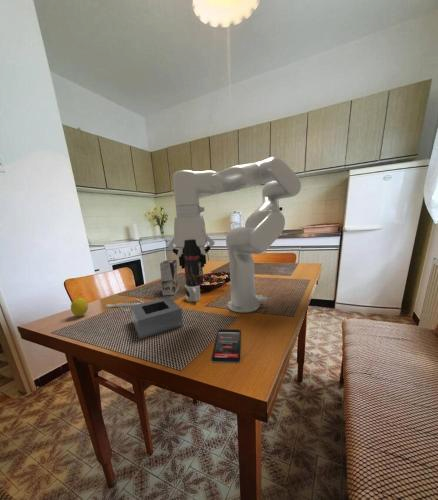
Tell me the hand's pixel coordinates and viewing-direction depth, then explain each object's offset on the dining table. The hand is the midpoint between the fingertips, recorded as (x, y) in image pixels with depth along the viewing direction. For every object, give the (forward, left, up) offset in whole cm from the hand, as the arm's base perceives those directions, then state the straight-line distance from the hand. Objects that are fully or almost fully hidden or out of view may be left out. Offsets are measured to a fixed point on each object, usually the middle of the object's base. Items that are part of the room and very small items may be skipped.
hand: (193, 266), depth 67 cm
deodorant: (0, 0, -6) cm, 6 cm away
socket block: (+14, -2, -20) cm, 25 cm away
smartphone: (-10, +13, -21) cm, 26 cm away
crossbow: (+33, -20, -21) cm, 44 cm away
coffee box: (+16, -35, -20) cm, 43 cm away
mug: (+3, -22, -20) cm, 30 cm away
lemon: (+47, -12, -20) cm, 53 cm away
